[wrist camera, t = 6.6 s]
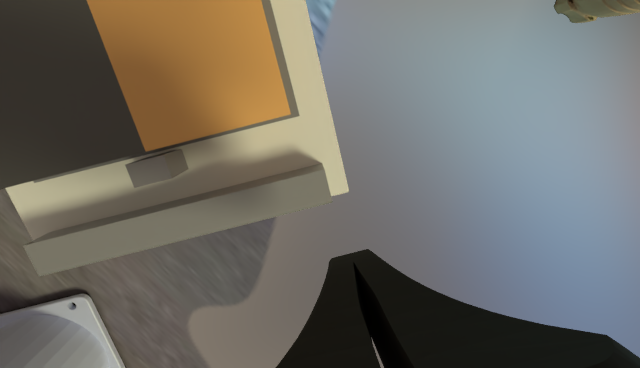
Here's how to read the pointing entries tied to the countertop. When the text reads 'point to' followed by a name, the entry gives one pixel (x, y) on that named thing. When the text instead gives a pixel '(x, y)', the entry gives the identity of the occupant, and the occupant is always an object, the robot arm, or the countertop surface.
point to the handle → (595, 9)
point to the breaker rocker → (127, 79)
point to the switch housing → (196, 173)
